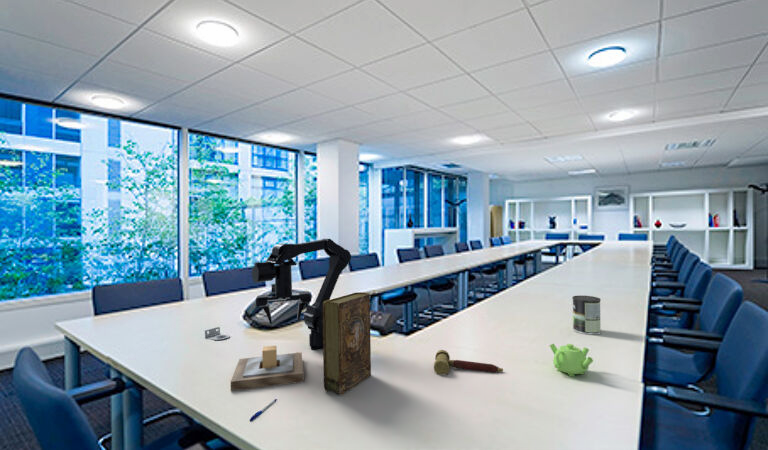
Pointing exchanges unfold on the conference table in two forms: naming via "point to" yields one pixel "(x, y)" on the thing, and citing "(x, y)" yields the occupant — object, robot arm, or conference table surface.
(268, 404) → the ballpoint pen
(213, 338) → the bracket
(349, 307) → the book
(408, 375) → the conference table surface
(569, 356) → the teapot
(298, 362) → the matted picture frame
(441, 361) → the gavel
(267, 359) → the tan cardboard-colored box
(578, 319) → the coffee can
